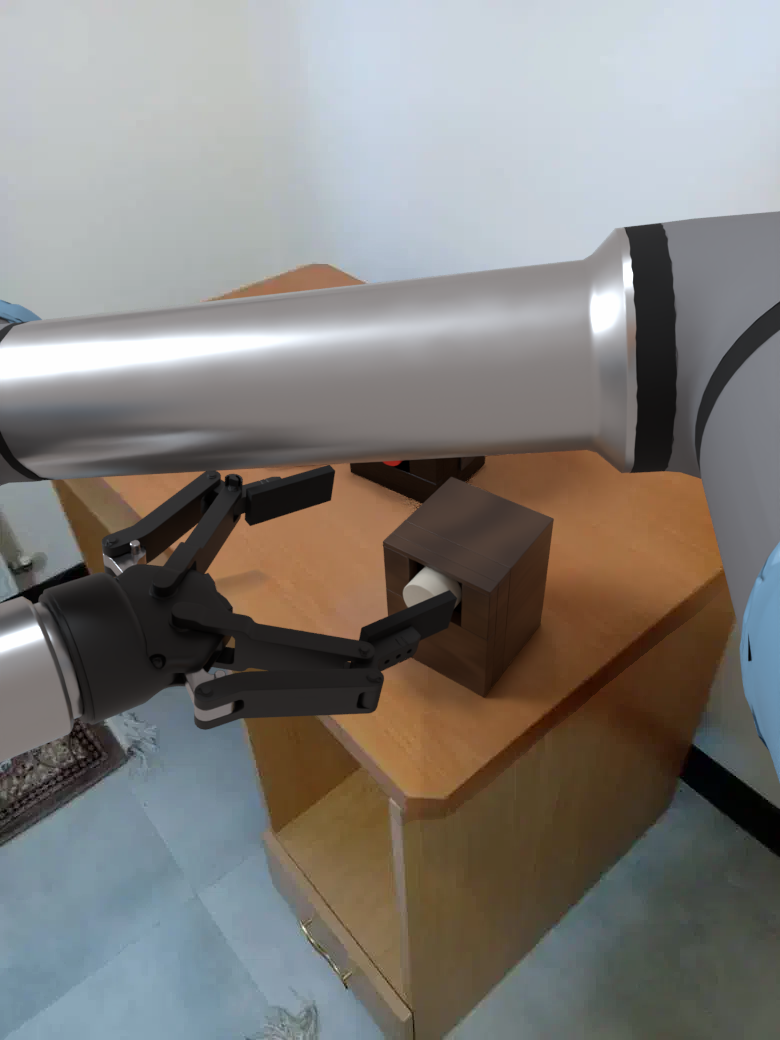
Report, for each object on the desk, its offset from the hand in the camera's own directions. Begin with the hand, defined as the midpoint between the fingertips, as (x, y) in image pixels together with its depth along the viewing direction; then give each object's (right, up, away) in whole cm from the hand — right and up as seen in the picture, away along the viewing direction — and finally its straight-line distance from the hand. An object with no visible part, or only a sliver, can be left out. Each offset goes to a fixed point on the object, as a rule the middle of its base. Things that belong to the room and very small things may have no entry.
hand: (385, 541), depth 52 cm
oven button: (+1, +8, +34) cm, 35 cm away
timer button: (+4, -6, +12) cm, 14 cm away
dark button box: (+4, +7, +39) cm, 40 cm away
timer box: (+7, -9, +20) cm, 23 cm away
